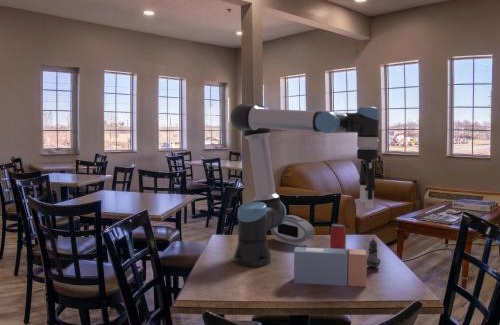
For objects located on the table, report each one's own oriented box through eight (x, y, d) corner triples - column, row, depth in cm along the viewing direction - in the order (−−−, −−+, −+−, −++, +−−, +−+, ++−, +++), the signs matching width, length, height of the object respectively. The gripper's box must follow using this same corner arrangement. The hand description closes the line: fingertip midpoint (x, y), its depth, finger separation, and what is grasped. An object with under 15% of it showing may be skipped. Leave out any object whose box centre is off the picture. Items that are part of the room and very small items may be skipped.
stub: (348, 285, 143) (348, 253, 142) (346, 279, 148) (347, 248, 148) (366, 286, 142) (366, 254, 141) (364, 280, 148) (364, 249, 147)
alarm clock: (269, 239, 206) (269, 213, 205) (278, 236, 210) (278, 211, 209) (306, 248, 189) (306, 220, 188) (314, 246, 193) (315, 218, 192)
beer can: (335, 255, 179) (336, 227, 178) (327, 251, 185) (327, 224, 184) (348, 253, 181) (349, 225, 181) (339, 249, 187) (339, 222, 187)
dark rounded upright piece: (364, 270, 159) (364, 239, 158) (365, 265, 164) (365, 235, 163) (380, 272, 157) (381, 240, 156) (381, 267, 162) (381, 237, 161)
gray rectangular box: (293, 283, 145) (294, 251, 145) (294, 277, 151) (295, 246, 150) (347, 286, 143) (347, 253, 142) (345, 280, 149) (346, 248, 148)
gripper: (384, 150, 144) (383, 211, 146) (371, 147, 169) (370, 199, 170) (362, 150, 145) (361, 210, 146) (352, 147, 170) (351, 199, 171)
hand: (366, 204), depth 158 cm, fingers open, 13 cm apart
